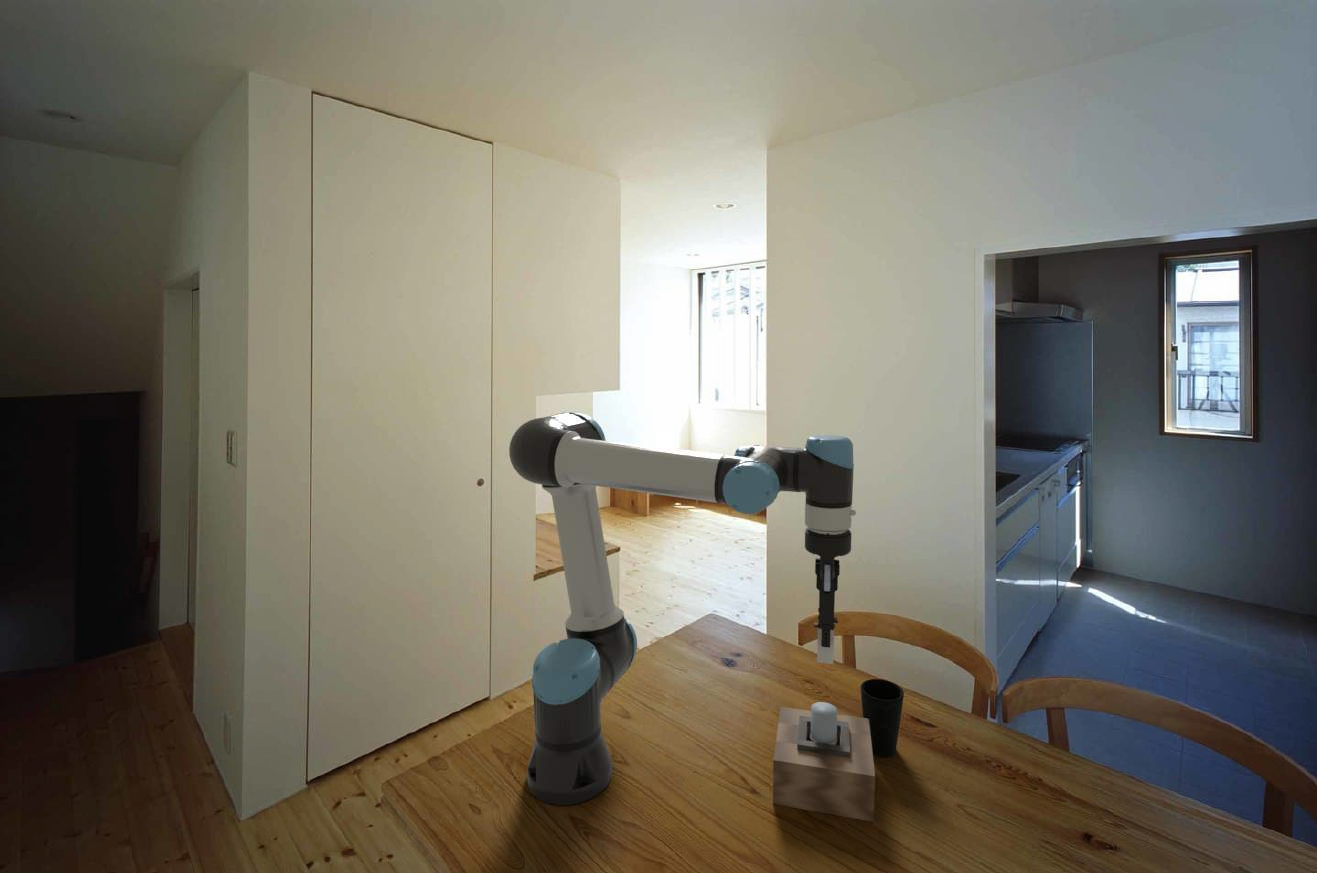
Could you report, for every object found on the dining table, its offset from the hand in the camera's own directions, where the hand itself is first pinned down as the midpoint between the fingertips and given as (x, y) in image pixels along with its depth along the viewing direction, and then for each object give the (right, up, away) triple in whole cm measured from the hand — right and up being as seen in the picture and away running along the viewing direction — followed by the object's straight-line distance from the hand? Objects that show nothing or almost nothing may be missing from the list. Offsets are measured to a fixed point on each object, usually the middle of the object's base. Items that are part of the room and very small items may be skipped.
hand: (825, 661), depth 105 cm
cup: (+14, -21, +11) cm, 28 cm away
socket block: (0, -22, +3) cm, 22 cm away
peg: (0, -21, +3) cm, 21 cm away
